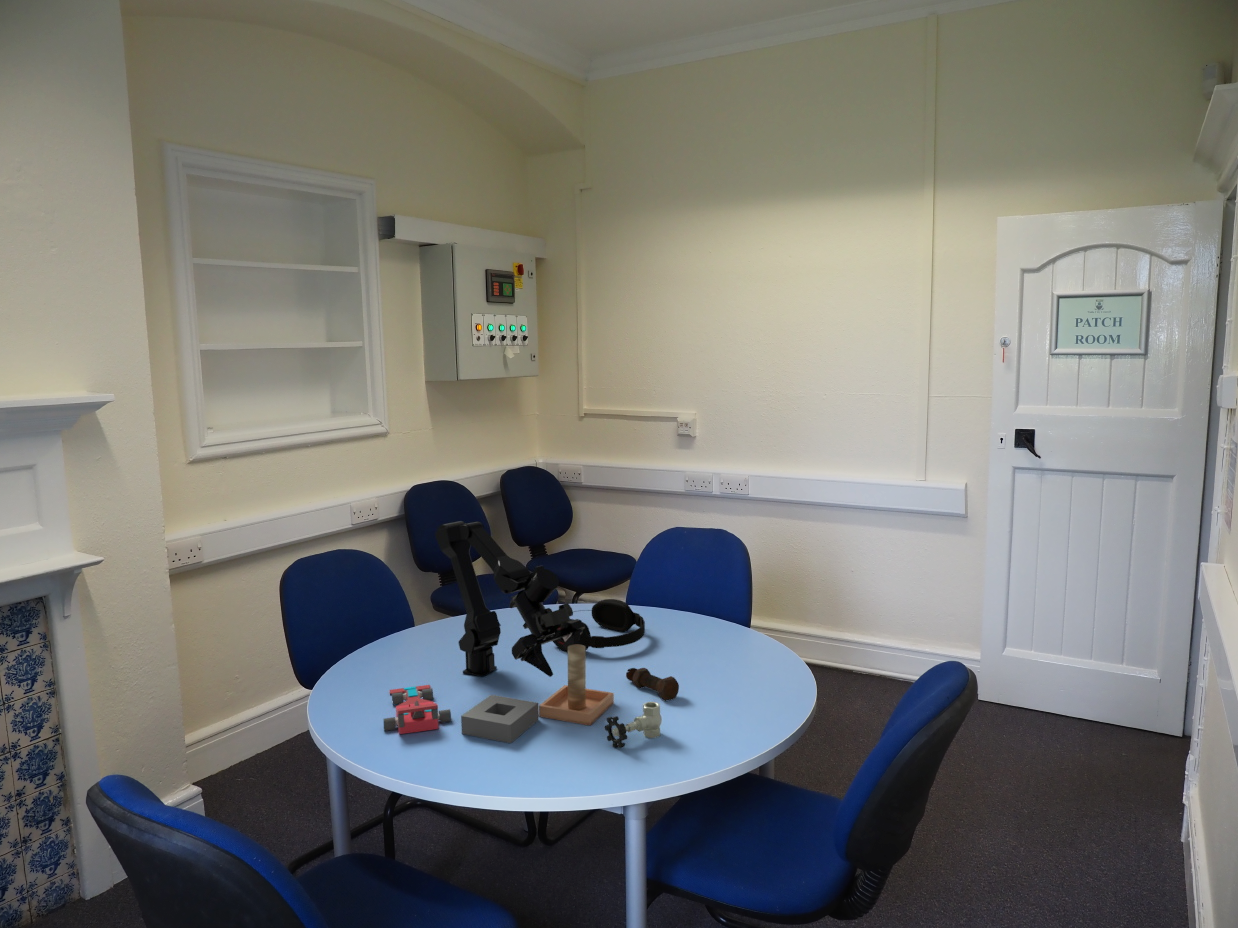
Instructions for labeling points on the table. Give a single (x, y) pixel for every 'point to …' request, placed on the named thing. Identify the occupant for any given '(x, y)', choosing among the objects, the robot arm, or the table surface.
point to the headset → (610, 625)
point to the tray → (559, 710)
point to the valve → (636, 725)
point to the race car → (415, 710)
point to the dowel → (576, 677)
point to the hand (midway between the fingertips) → (566, 669)
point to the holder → (500, 718)
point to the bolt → (654, 683)
